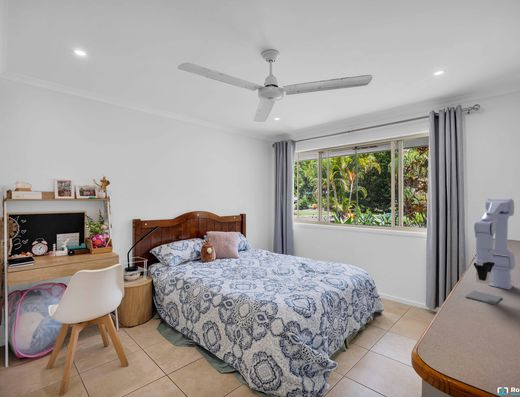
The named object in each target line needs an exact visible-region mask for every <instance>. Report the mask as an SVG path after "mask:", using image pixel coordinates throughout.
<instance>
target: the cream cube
mask: <svg viewBox="0 0 520 397" xmlns="http://www.w3.org/2000/svg"><path fill="white" fill-rule="evenodd" d="M475 275H476V276H475V282H476V283H479V284H485V285H488V286H490V285H489V284H491V283H492V272H488V273H487V278H486V281H483V280H479V277H478V273H477V271H476V272H475Z"/></svg>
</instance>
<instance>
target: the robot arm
mask: <svg viewBox="0 0 520 397" xmlns="http://www.w3.org/2000/svg"><path fill="white" fill-rule="evenodd" d="M485 209H486V212H484V213H483V214H482V216H481V217H480V220H477V221H476V222H474V225H473V226H474V228H473V229H474V237H475V238H476V239H475V243H476V244H475V246H476V247H475V256H472V259H473V260H475V261H476V262H474V263H473V266H474V268H475V270H476V272H477V273H478V277H479V280H483V281H486V278H487V273H488V272H492V283H491V284H489V285H488V286H491V287H495V288H500V289H505V290H511V289H512V288H513V287H514V284H512V272H511V271H512V270H514V269H515V267H516V259H515V254H514V253H513V252H512V251H511V250H510V249H508V232H509V231H508V230H509V229H508V226H509V225H508V224H509V223H508V222H509V218H510V217H512V216H513V215H514V213H515V202H514V200H513V198H487V199H486V200H485Z"/></svg>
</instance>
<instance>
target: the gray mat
mask: <svg viewBox="0 0 520 397" xmlns="http://www.w3.org/2000/svg"><path fill="white" fill-rule="evenodd" d="M465 298H466V299H470V300H473V299H474V300H473V301H477V302H481V303H484V304H485V303H486V304H490V305H493V306H496V305H497V304H498V303H499V302H500V301H501V300H502V299H503V297H502V296H500V295H494V294H490V293H486V292H482V291H477V290H473V291H471V292H469V293H468V294H467V295H466V296H465Z"/></svg>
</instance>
